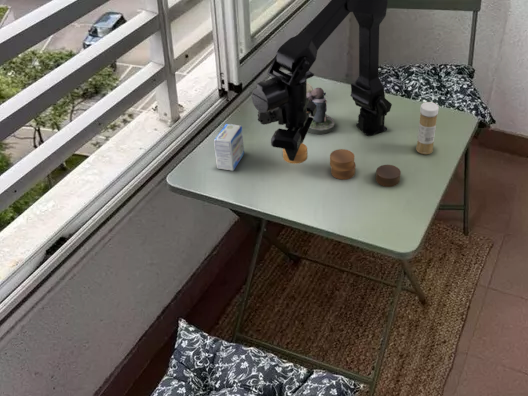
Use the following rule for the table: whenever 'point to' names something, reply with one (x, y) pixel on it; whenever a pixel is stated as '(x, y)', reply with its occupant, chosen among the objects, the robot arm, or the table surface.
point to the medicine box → (229, 147)
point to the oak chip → (297, 155)
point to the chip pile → (342, 164)
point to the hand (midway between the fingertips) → (295, 153)
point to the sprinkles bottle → (427, 127)
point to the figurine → (320, 113)
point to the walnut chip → (388, 175)
